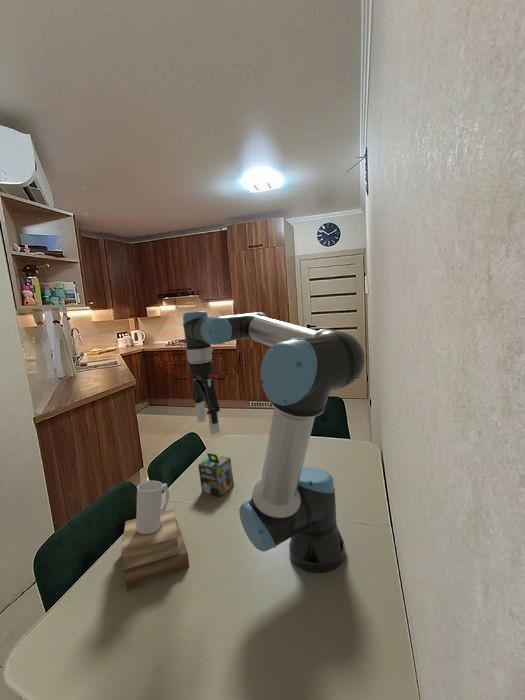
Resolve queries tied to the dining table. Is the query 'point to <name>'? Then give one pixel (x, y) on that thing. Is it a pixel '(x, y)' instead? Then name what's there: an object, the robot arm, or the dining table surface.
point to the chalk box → (216, 475)
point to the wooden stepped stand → (157, 567)
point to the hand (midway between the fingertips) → (208, 427)
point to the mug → (150, 506)
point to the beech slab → (150, 542)
